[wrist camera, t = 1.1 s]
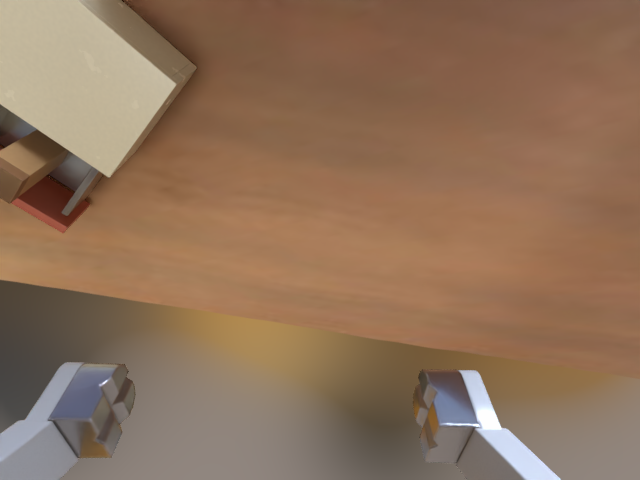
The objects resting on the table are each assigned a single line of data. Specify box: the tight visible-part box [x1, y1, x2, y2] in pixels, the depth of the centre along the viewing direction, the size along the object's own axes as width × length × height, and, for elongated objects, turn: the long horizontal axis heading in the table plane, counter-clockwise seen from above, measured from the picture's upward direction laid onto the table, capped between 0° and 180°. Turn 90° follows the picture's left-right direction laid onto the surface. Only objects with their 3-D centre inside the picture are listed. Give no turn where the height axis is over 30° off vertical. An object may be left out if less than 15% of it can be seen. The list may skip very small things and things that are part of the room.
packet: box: [0, 129, 69, 204], centre depth 42 cm, size 4×3×10 cm
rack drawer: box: [0, 104, 104, 233], centre depth 44 cm, size 14×13×6 cm
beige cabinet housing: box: [0, 0, 197, 178], centre depth 39 cm, size 14×15×8 cm
